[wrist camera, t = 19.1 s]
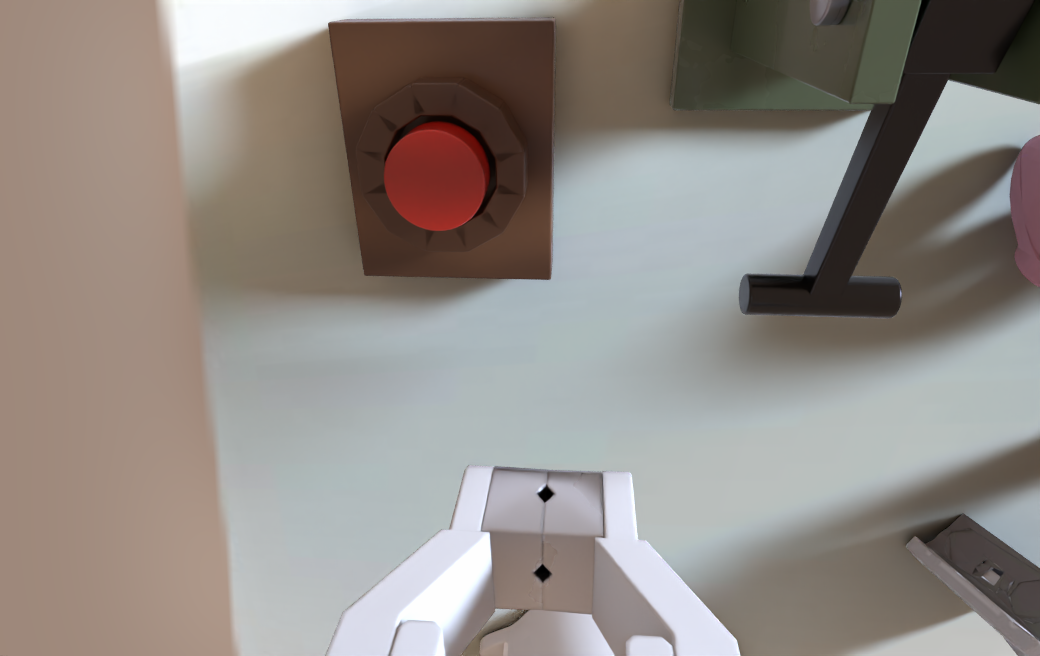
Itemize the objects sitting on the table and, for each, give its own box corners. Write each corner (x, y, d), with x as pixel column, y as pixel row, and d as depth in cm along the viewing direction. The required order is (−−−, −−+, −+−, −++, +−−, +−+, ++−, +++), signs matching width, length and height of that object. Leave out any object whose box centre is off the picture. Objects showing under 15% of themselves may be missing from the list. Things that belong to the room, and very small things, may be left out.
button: (491, 218, 27) (486, 232, 25) (399, 216, 27) (389, 230, 25) (488, 121, 25) (482, 130, 23) (389, 120, 25) (377, 129, 24)
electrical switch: (896, 538, 38) (1000, 678, 30) (970, 485, 37) (1101, 619, 28) (987, 608, 41) (1107, 758, 32) (1060, 562, 39) (1207, 707, 30)
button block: (552, 262, 31) (549, 297, 28) (376, 258, 32) (352, 292, 29) (555, 17, 26) (552, 22, 23) (345, 19, 27) (310, 24, 23)
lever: (873, 287, 23) (894, 337, 21) (734, 284, 23) (744, 333, 22) (1082, -100, 14) (1146, -63, 12) (849, -95, 14) (882, -58, 13)
